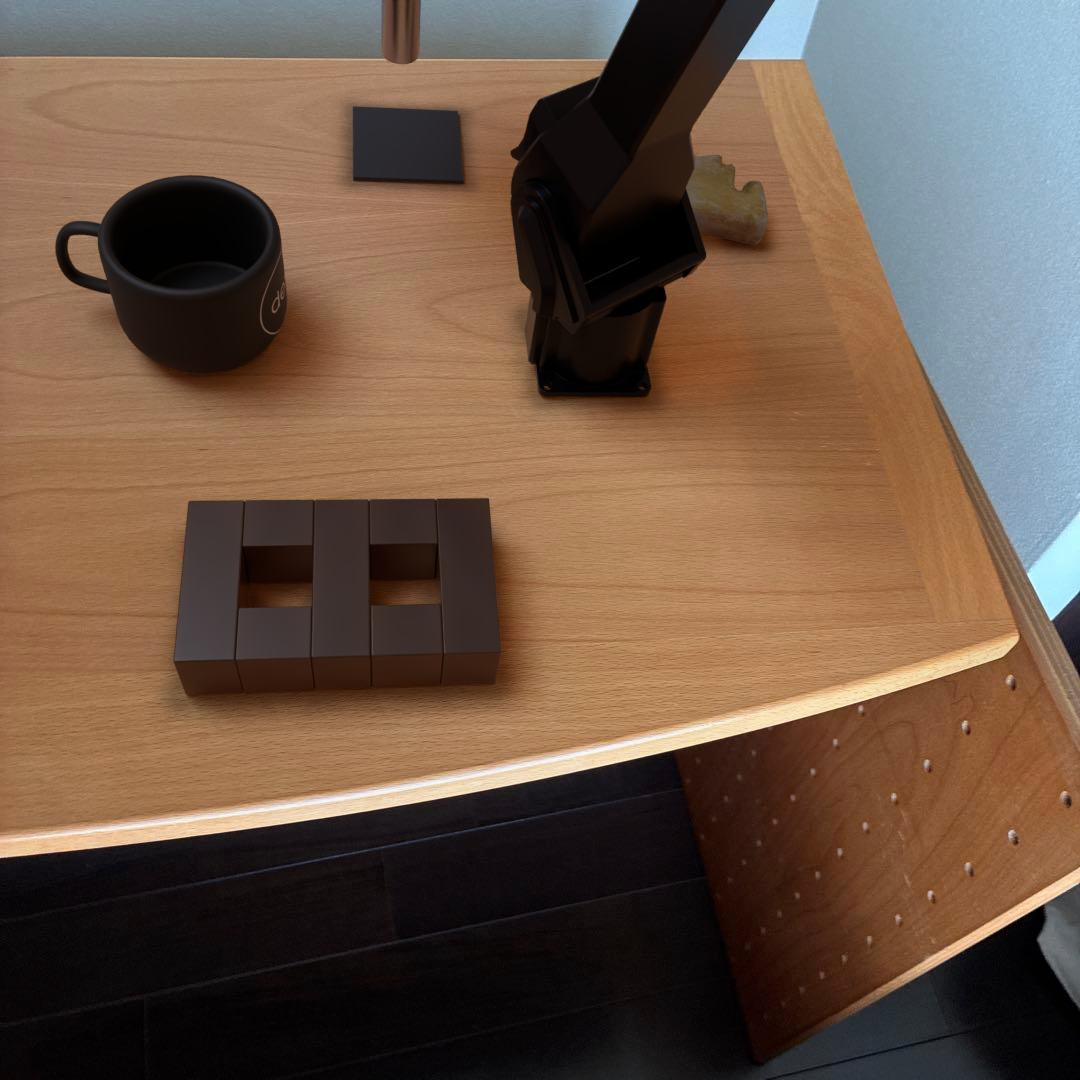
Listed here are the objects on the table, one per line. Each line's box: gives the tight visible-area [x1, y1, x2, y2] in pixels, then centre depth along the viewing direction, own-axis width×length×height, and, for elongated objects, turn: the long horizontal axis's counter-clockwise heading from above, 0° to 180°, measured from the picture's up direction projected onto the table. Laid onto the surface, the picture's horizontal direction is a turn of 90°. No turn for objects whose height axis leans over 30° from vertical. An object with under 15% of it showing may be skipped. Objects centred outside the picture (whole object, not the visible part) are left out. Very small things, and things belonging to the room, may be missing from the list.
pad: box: [352, 105, 465, 185], centre depth 72 cm, size 7×7×1 cm
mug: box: [54, 174, 288, 375], centre depth 59 cm, size 12×9×7 cm
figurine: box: [686, 154, 769, 246], centre depth 69 cm, size 5×5×15 cm
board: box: [172, 497, 502, 696], centre depth 52 cm, size 14×8×4 cm, turn 95°
